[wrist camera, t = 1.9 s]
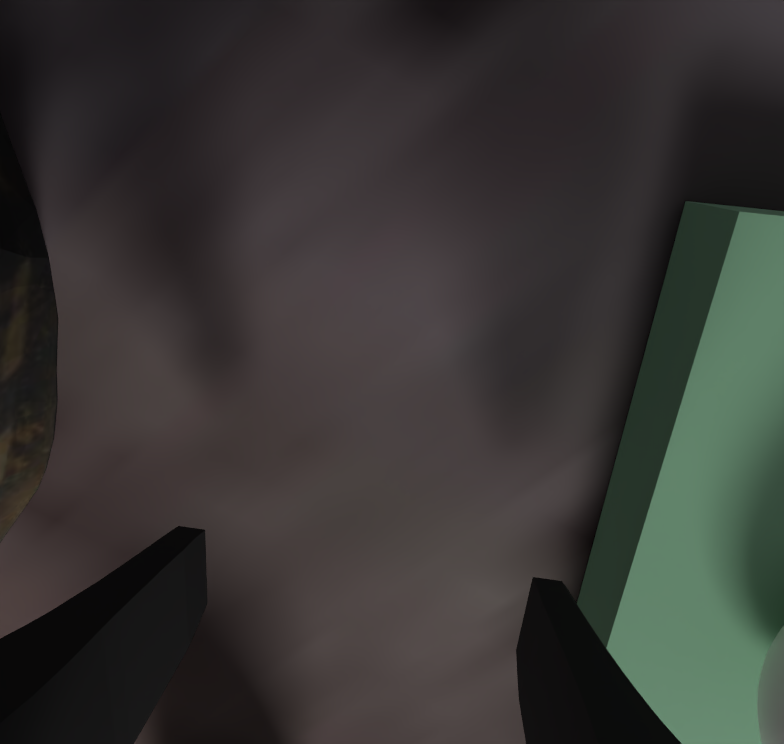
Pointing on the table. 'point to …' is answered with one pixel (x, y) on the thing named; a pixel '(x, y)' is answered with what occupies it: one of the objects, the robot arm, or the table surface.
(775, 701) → the white ball
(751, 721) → the putting board
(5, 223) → the decorative pumpkin
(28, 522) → the table surface
